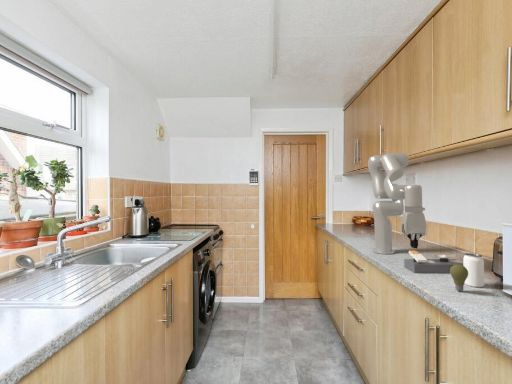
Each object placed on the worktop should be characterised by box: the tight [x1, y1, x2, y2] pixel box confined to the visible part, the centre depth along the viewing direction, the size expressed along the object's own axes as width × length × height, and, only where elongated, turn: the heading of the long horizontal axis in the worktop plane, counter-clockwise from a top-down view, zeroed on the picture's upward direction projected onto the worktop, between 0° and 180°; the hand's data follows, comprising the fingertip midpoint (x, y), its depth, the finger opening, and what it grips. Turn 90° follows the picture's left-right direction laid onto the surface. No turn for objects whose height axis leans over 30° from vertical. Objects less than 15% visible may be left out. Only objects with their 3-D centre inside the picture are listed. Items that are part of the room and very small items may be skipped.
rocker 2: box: [433, 254, 455, 259], centre depth 131 cm, size 9×4×1 cm, turn 176°
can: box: [462, 252, 485, 289], centre depth 110 cm, size 6×6×12 cm
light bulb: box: [449, 264, 468, 292], centre depth 104 cm, size 6×6×10 cm
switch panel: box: [403, 257, 463, 274], centre depth 131 cm, size 10×24×6 cm, turn 86°
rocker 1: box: [408, 250, 428, 262], centre depth 132 cm, size 9×4×1 cm, turn 177°
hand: (414, 247), depth 135 cm, fingers closed
